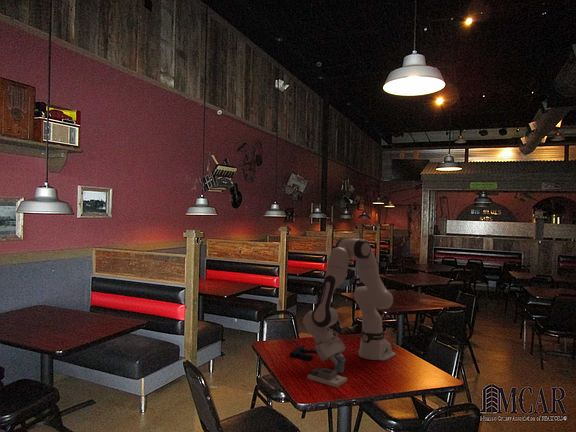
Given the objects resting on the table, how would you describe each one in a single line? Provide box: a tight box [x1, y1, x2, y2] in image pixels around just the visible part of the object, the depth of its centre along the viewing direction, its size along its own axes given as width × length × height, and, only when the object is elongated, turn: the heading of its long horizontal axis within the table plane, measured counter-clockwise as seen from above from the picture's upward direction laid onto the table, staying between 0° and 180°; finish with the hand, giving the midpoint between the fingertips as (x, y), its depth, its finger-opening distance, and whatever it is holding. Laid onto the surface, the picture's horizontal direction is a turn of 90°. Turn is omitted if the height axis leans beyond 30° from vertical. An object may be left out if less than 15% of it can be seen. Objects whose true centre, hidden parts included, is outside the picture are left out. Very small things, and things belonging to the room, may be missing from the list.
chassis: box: [306, 367, 348, 388], centre depth 192 cm, size 16×10×4 cm, turn 53°
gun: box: [289, 344, 318, 362], centre depth 231 cm, size 24×3×15 cm
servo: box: [333, 354, 347, 374], centre depth 204 cm, size 6×3×8 cm, turn 53°
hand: (340, 362), depth 204 cm, fingers open, 4 cm apart
